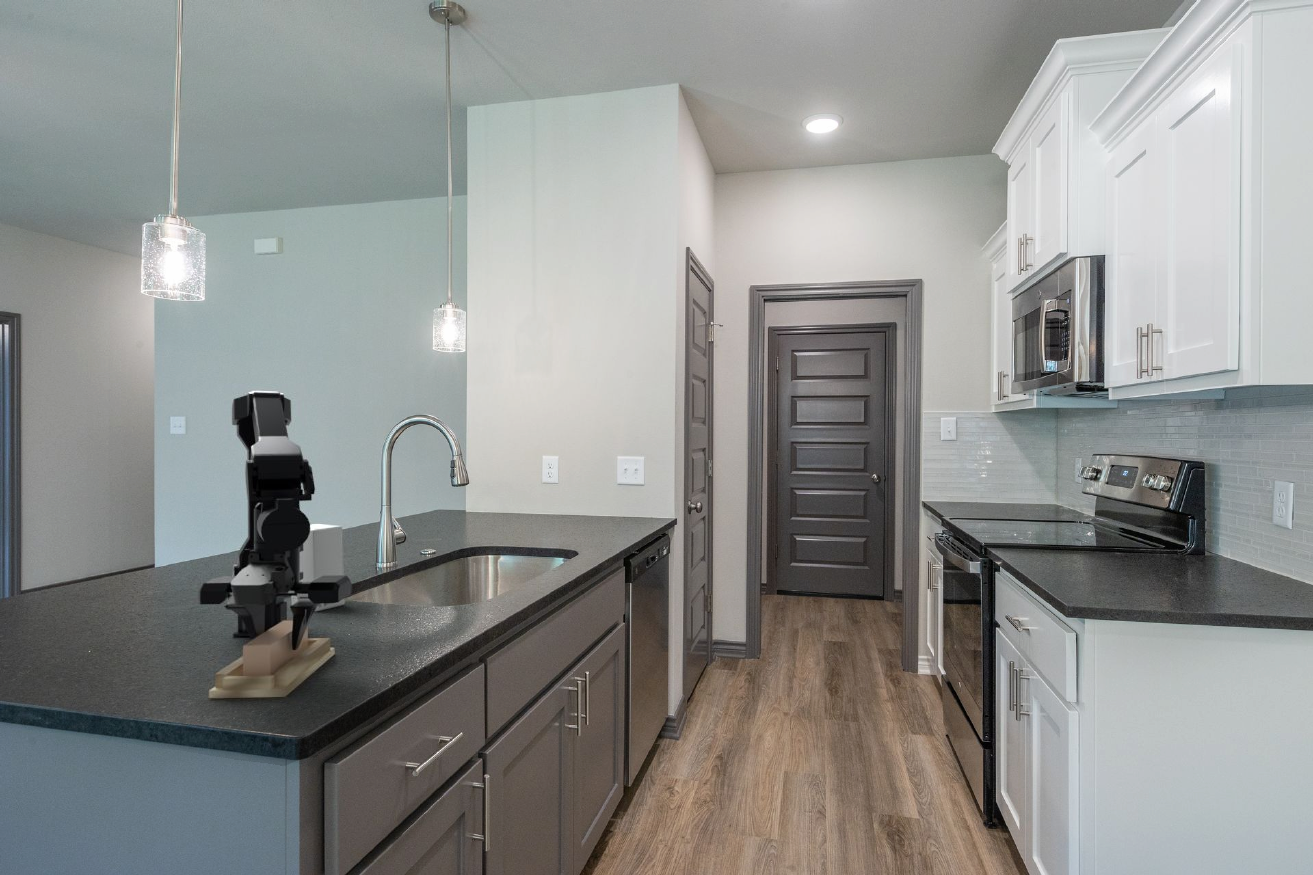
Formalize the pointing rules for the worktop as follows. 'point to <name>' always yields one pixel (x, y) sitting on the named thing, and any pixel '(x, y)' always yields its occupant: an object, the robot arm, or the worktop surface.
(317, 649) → the tray
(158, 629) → the worktop surface
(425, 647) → the worktop surface
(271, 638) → the clay bar
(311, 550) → the skincare box
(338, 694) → the worktop surface
